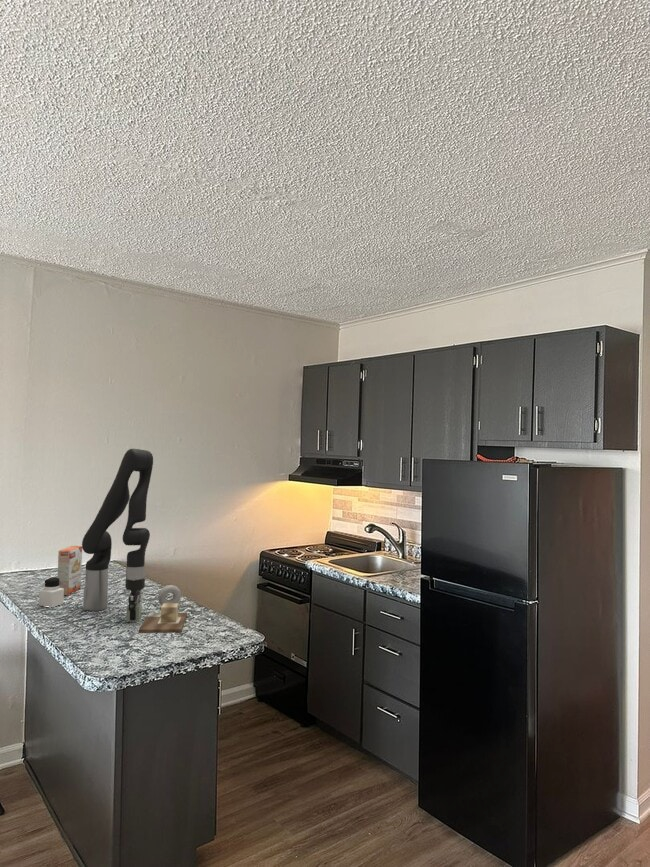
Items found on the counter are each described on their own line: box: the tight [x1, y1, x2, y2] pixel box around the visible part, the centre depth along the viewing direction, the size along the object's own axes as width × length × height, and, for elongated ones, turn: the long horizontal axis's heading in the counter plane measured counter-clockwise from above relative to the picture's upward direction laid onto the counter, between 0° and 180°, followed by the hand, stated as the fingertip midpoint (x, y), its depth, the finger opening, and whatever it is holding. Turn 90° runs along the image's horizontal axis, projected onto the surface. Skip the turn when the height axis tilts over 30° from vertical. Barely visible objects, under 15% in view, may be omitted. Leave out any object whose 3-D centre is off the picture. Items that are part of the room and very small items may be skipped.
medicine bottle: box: [38, 576, 65, 607], centre depth 268 cm, size 7×7×12 cm
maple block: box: [160, 603, 179, 623], centre depth 247 cm, size 6×6×6 cm
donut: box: [157, 584, 182, 606], centre depth 269 cm, size 10×4×10 cm, turn 119°
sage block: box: [125, 603, 142, 623], centre depth 251 cm, size 5×5×6 cm
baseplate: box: [138, 612, 188, 634], centre depth 246 cm, size 16×22×1 cm
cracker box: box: [57, 545, 83, 596], centre depth 291 cm, size 14×6×21 cm, turn 179°
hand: (134, 617), depth 251 cm, fingers open, 7 cm apart
